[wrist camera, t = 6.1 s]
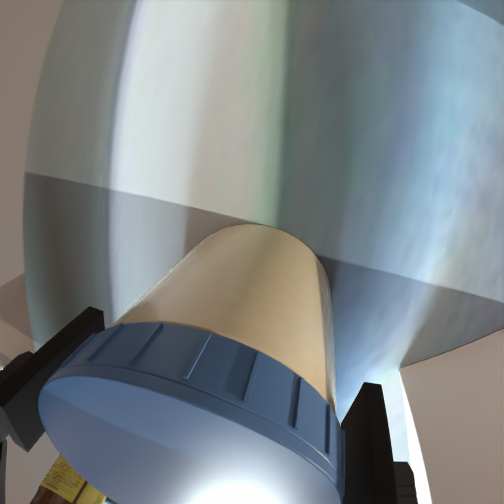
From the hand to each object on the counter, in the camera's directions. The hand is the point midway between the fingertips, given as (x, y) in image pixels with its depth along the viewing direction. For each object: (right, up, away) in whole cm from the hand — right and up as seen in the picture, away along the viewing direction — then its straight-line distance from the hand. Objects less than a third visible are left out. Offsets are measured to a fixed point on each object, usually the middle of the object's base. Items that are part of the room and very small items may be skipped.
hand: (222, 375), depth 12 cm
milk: (+18, -6, +6) cm, 20 cm away
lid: (-1, -2, -5) cm, 5 cm away
